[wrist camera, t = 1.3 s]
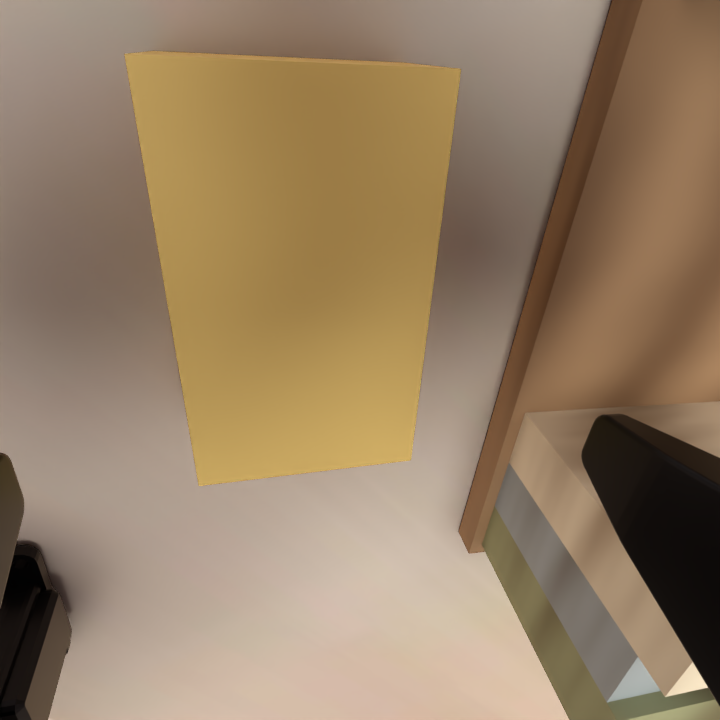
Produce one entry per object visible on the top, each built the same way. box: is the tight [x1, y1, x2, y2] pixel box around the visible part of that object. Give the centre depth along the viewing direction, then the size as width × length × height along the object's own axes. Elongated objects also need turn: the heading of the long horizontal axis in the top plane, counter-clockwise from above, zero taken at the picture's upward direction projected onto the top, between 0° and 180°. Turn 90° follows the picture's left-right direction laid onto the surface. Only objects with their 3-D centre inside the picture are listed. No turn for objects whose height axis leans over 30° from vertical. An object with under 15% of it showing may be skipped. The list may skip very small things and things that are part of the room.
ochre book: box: [124, 51, 461, 486], centre depth 13 cm, size 6×10×4 cm, turn 178°
